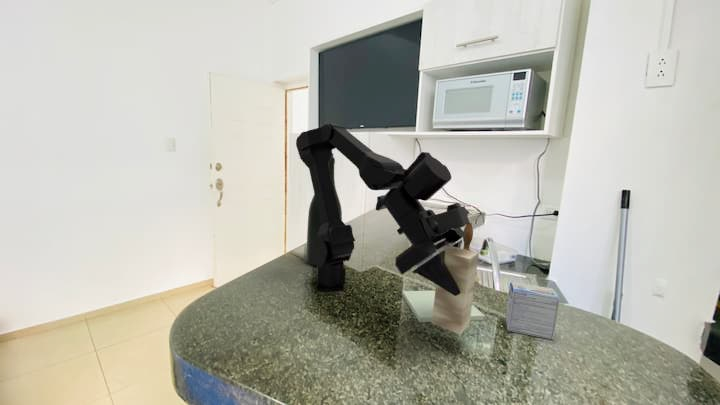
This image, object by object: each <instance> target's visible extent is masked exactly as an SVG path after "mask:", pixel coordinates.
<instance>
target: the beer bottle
mask: <svg viewBox="0 0 720 405" xmlns="http://www.w3.org/2000/svg"><path fill="white" fill-rule="evenodd" d="M335 163H336V160H335V157H334V153H333V152H332V156H331V159H330V162H329V169H330V173H331V178H332V182H333V187H334V191H335V196H336V200H337V204H338V209H339V213H340V218H341V220H342V221H343V215H342V214H343V213H342V212H343V210H342V206H341V201H340V197H339V195H338V192H337V189H336V188H337V187H336V182H335ZM307 216H308V218H307V230H306V231H307V232H306V254H305V258H306V262H307V263H308V264H309V265H311V266H313V267H314V266H315V267H317V265H316V264H314V263H312V262H311V258H310V253H311V252H312V251H313V250H314V249H315V247H316V246H317V245H318V242H317V235H318V232H319V229H320V226H321V222H320V217H319V213H318V208H317V203H316V199H315V194H313V197H312V198H311V201H310V204H309V208H308V215H307Z"/></svg>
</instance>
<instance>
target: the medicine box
mask: <svg viewBox="0 0 720 405" xmlns="http://www.w3.org/2000/svg"><path fill="white" fill-rule="evenodd" d="M508 289H509V290H508V293H507V294H508V296H507V305H506V309H505V310H506V312H505V323H506V327H507V328H506V329H507V331H509V332H514V333H518V334H523V335H528V336H533V337H538V338H542V339H546V340H547V339H548V340H551V341H554V340H555V332H556V329H557V328H556V326H557V320H558V314H559V309H560V303H561V297H560V296H559V295H558V293H557V292H556V291H555V290H554V288H550V287H546V286H539V285H534V284H533V285H532V284H528V283H520V282H514V281H510V282H509V288H508Z"/></svg>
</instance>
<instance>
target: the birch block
mask: <svg viewBox="0 0 720 405" xmlns="http://www.w3.org/2000/svg"><path fill="white" fill-rule="evenodd" d="M444 250H445V260H444V262H445V265H446V266H447V268H448V270H449V272H450V273H451V275H452V277H453V279H454V280H455V282H456V284H457V286H458V288H459V290H460V294H459V295H457V296H454V295H453V294H451V293H449V292H448V291H446V290H445V289H443V288H441V287H440V286H438V285H437V284H435V290H434V291H435V299H434V307H433V316H432V322H431V324H432V325H435V326H437V327H440V328H442V329H444V330H447V331H450V332H452V333H455V334H457V335H459V336H461V334H463V332H464V331H465V329H467V327H468V326H469V324H470V323H471V322H470V316H471V309H472V304H473V299H474V292H475V284H476V283H475V279H476V275H477V269H478V264H479V263H478V262H479V256H480V252H478V251H473V250H470V249H469V250H466V249H463V248H461V247H460V248H457V247H453V246H450V247H448V248H446V249H444ZM444 250H442V251H444ZM442 251H440V252H442Z"/></svg>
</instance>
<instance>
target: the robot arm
mask: <svg viewBox="0 0 720 405" xmlns="http://www.w3.org/2000/svg"><path fill="white" fill-rule="evenodd" d="M295 143H296V144H295V145H296V146H295V147H296V149H297V153H298V155H299V159H300V160H301V161H302V162H303V164H304V165H305V166H306V167H307V168H308V169H309V170H308V171H309V175H310V179H311V183H312V190H313V193H314V194H315V199H316V203H317V208H318V213H319V217H320V222H321V226H320V229H319V232H318V235H317V242H318V245H317V246H316V247H315V249H314V250H313V251H312V252H311V253H310V258H311V262H312V263H314V264H316V265H317V266H316V268H317V270H316V279H315V281H316V282H315V283H316V291H343V290H344V285H346V266H345V265H344V262H348V261H349V262H350V260H351V256H352V254H353V251H354V250H355V242H356V239H355V236H354V234H353V227H352V225H351V224H345V223H344V221H343V219H342V220H341V218H340V213H339V209H338V204H337V200H336V196H335V191H334V187H333V182H332V178H331V173H330V169H329V162H330V159H331V156H332V153H333V150H335V149H337V151H338V152H339V153H341V155H342V156H343V157H345V158H346V159H347V160H348V161H349V162H351V163H352V164H353V165H354V166H355V167H356V169H357V170H358V174H359V177H360V178H361V180H362V182H364V184H365V185H366V187H367V188H368V189H369V190H371V191H388V192H386V194H384V195H383V194H382V195H379V196H377V199H376V200H377V201H376V204H375V210H376V211H381V210H385V209H386V210H387V211H388V212H389V214H390V215H391V216H392V218H393V219H394V221H395V222H396V224H397V225H398V229H396V232H397V234H399V235H400V236H401V235H403V234H404V236H405V237H406V238H407V240H408V242H409V243H410V244H411V246H410V247H407V249H405V250H404V251H402V252H401V253H400V254H399V255H398V256H396V257H395V265H394V266H395V267H396V268H397V270H398V271H399V273H400V275H404V274H406V273H408V272H410V271H411V270H412V269H413V268H415V267H417V268H416V269H414V270H412V273H413V274H416V275H417V274H418V275H419V276H421V277H422V278H424V279H425V280H428V281H430V282H432V283H433V284H435V285H436V284H437V285H438V286H440V287H441V288H443V289H445V290H446V291H448V292H449V293H451V294H453V295H454V296H457V295H459V294H460V290H459V288H458V286H457V284H456V282H455V280H454V279H453V277H452V275H451V273H450V272H449V270H448V268H447V266H446V265H445V262H444V260H445V250H444V249H446V248H448V247H450V246H453V247H457V248H461V247H462V244H463V240H462V239H463V237H464V236H465V235H466V234H465V233H464V232H463V231H464V229H462V228H463V227H464V228H465V226H466V224H470V223H471V222H470V219H469V216H468V215H469V213H470V212H469V210H467V209H466V206H464V205H463V206H462V205H461V204H460V203H459V202H455V203H452V204H449V205H447V206H446V211H444V212H441V213H437V214H436V212H434V211H433V209H427V210H426V209H425V207H424V206H423V205H422V204H421V202H420V201H429V200H431V198H432V197H433V196H434V195H435V194H436V193H437V192H439V191H440V190H441V189H442V188H443V187H444V186H446V185H447V184H448V183H449V182H450V181H451V180H452V173H451V171H450V169H448V167H447V165H445V164H443V163H442V162H441V161H440V160H439V159H437V158H435V157H434V156H432V154H431V153H430V152H425V151H421V152H420V153H419V154H418V155H417V157H416V158H415V160H414V161H413V162H412V163H411V164H410V165H409V166H408V168H404V167H403V165H402V164H401V163H400V162H398V161H396V160H393V159H392V158H389V157H388V156H384V155H381V154H379V153H377V152H375V151H373V150H372V149H370V147H368V146H367V145H365V144H364V143H363V142H362V141H361V140H359V139H358V138H357V137H355V136H354V135H353V134H352V133H351V132H350V131H348V130H347V128H346V127H344V125H341V124H335V123H327V124H324V125H322V126H321V127H318V128H313V129H309V130H307V131H302V132H301V133H300V135H299V136H297V138H296V141H295ZM314 194H313V195H314ZM460 239H461V240H460ZM442 250H444V251H442ZM440 251H442V252H440Z"/></svg>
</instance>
